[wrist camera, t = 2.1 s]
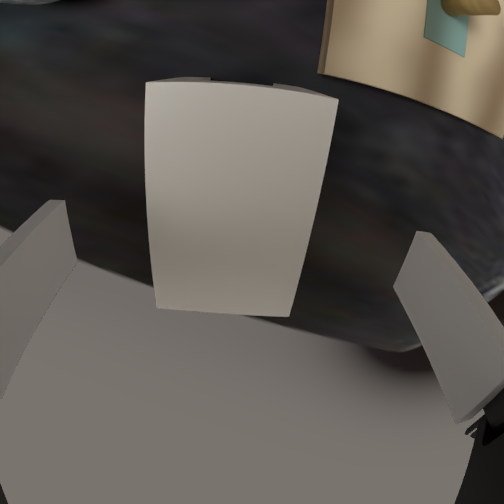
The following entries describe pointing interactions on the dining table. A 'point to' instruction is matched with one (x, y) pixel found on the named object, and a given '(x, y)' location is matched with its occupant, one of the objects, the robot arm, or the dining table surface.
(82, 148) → the dining table surface
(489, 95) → the wooden peg board
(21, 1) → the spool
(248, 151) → the white block
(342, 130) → the dining table surface
